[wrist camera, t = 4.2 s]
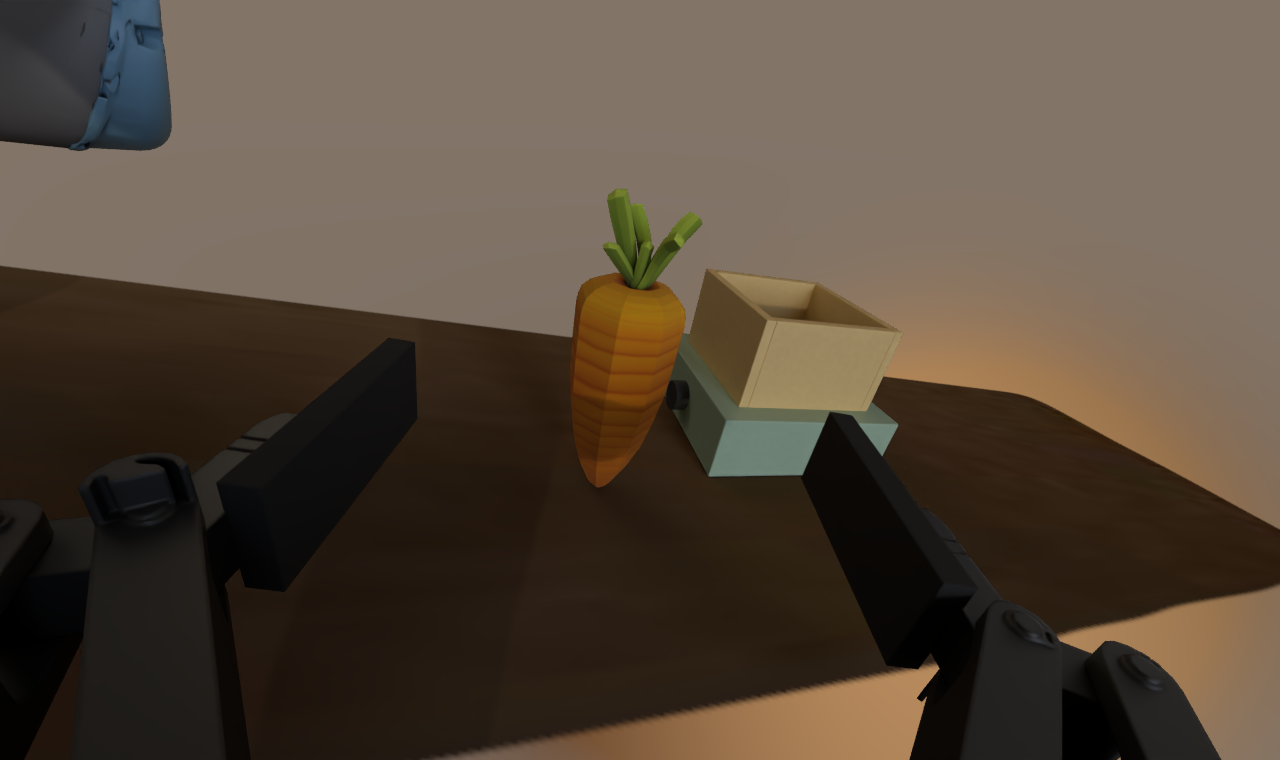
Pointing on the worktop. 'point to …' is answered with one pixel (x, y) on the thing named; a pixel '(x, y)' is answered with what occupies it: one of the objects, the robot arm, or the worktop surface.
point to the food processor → (775, 372)
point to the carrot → (624, 342)
